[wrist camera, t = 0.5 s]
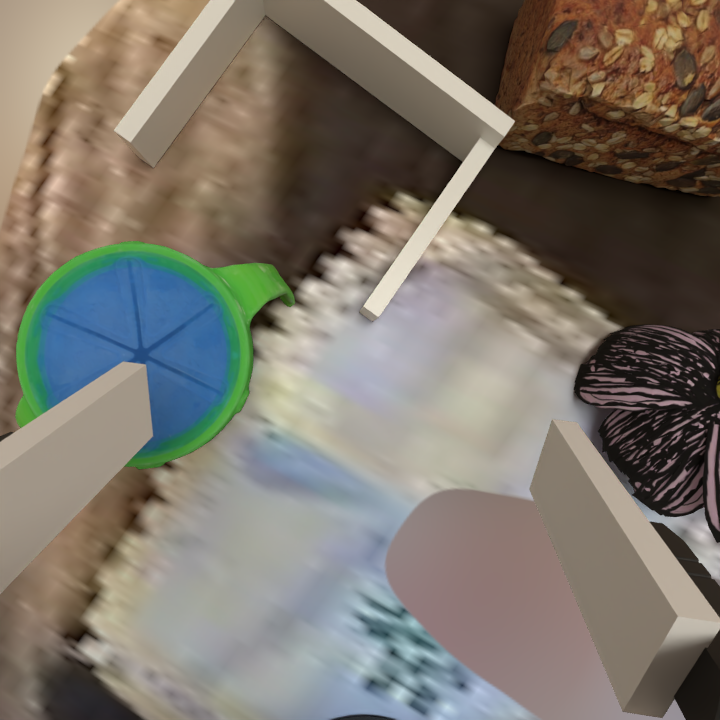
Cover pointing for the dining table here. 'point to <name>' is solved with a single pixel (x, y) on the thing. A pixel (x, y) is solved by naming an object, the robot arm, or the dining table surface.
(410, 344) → the dining table surface
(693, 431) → the decorative flower
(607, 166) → the bread
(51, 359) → the snack cup
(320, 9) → the fence
